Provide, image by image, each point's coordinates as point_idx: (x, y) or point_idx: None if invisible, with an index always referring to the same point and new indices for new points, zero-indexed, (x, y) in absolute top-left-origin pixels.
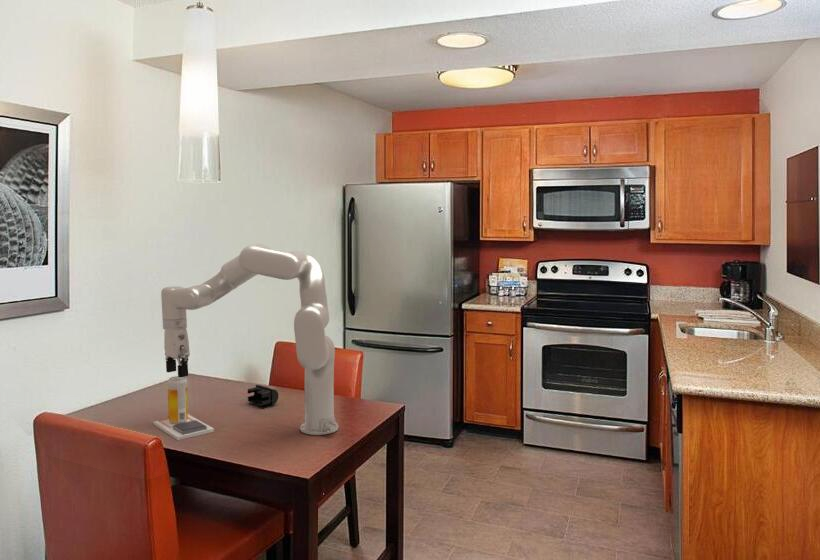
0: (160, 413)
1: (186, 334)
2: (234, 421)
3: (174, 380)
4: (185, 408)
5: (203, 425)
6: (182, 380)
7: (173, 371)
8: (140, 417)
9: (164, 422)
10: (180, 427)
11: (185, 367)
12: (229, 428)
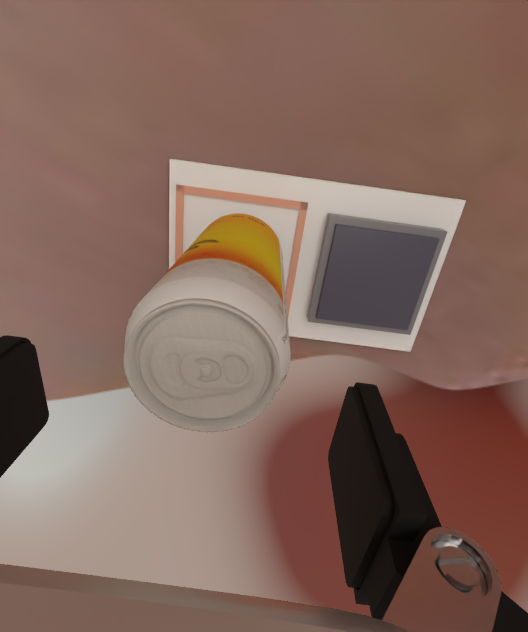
0: (29, 220)
1: None
2: (435, 7)
3: (254, 418)
4: (281, 259)
5: (437, 244)
6: (281, 360)
7: (35, 363)
8: (42, 304)
9: None
10: (368, 321)
11: (429, 515)
12: (495, 114)
